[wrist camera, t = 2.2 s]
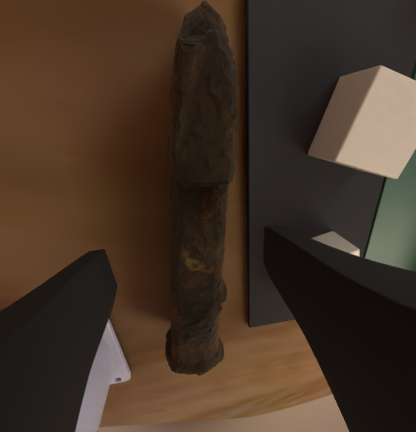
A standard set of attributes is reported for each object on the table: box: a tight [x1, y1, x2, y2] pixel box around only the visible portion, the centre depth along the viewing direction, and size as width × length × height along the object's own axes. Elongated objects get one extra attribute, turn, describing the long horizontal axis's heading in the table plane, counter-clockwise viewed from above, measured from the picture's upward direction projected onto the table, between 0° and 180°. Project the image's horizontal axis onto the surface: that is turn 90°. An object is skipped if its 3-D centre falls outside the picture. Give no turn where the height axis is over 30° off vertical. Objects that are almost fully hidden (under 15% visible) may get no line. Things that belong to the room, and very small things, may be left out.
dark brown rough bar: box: [166, 1, 239, 376], centre depth 11 cm, size 19×4×5 cm, turn 175°
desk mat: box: [245, 0, 416, 328], centre depth 14 cm, size 9×21×1 cm, turn 5°
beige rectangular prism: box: [308, 65, 416, 179], centre depth 11 cm, size 4×4×2 cm
